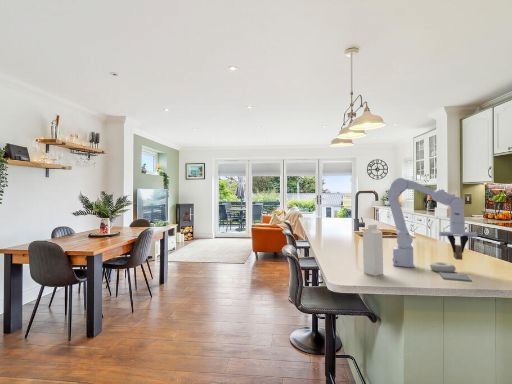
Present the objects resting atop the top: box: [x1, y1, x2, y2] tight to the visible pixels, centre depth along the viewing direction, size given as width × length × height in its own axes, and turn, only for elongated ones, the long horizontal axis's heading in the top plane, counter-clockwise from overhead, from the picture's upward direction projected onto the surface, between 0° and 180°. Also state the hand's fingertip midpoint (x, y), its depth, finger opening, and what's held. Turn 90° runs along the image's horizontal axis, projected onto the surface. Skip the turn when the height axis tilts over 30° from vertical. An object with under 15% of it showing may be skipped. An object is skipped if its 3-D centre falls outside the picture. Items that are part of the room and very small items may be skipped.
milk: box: [362, 224, 384, 277], centre depth 133 cm, size 6×6×22 cm
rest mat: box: [438, 272, 473, 282], centre depth 125 cm, size 10×10×1 cm
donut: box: [429, 261, 457, 273], centre depth 136 cm, size 10×4×10 cm
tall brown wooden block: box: [452, 244, 463, 261], centre depth 136 cm, size 2×6×6 cm, turn 155°
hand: (458, 252), depth 136 cm, fingers closed on tall brown wooden block, 2 cm apart
